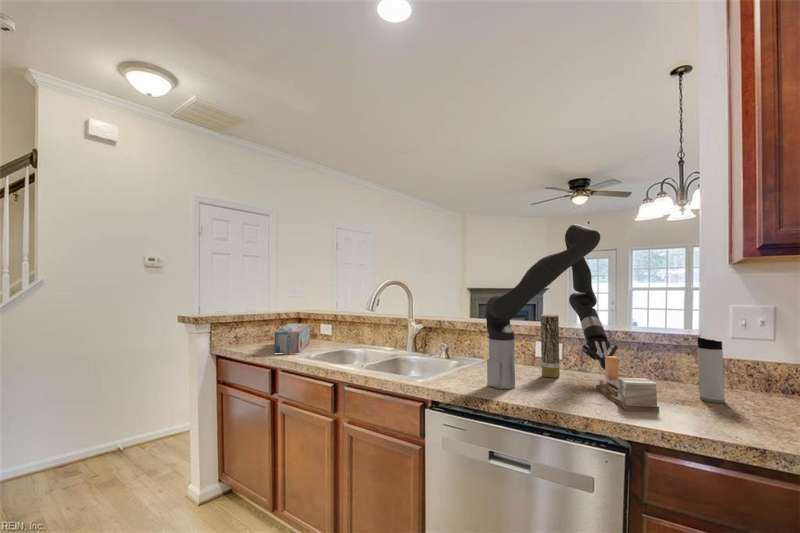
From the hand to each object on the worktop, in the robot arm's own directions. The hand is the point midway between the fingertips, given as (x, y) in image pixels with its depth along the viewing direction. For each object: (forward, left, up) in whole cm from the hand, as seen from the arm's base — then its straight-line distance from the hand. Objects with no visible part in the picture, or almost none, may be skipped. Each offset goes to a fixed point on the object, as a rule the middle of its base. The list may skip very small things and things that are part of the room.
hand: (606, 368), depth 137 cm
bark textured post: (-3, +22, -7) cm, 23 cm away
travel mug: (+13, -26, -7) cm, 30 cm away
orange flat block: (-6, -7, -5) cm, 11 cm away
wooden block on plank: (-9, -11, -7) cm, 16 cm away
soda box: (-72, +147, -7) cm, 163 cm away
